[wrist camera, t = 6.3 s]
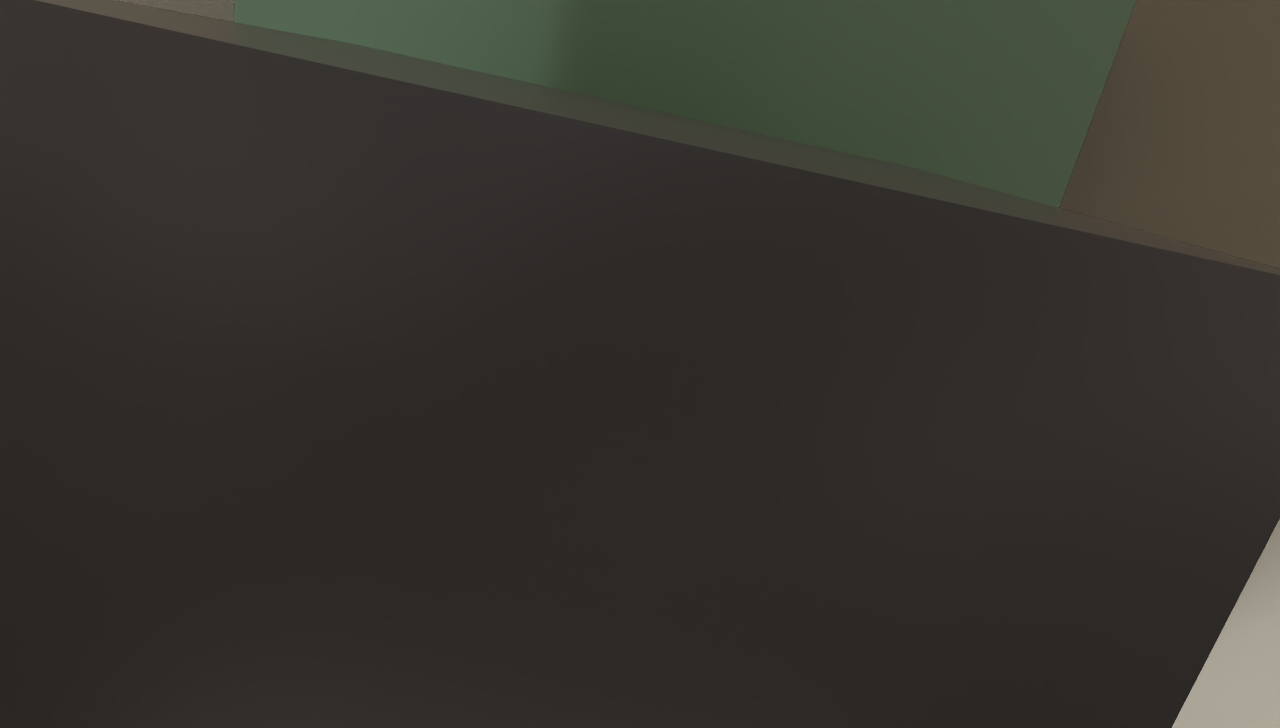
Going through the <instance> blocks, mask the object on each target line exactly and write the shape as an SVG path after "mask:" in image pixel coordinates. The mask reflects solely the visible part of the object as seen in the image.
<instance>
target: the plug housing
mask: <svg viewBox="0 0 1280 728" xmlns="http://www.w3.org/2000/svg"><path fill="white" fill-rule="evenodd" d="M1279 519H1280V269H1278V268H1275V267H1271V266H1267V265H1264V264H1260V263H1257V262H1253V261H1249V260H1246V259H1242V258H1238V257H1235V256H1231V255H1228V254H1224V253H1220V252H1217V251H1213V250H1209V249H1206V248H1202V247H1199V246H1195V245H1191V244H1188V243H1184V242H1180V241H1177V240H1173V239H1170V238H1166V237H1162V236H1159V235H1155V234H1152V233H1148V232H1144V231H1141V230H1137V229H1133V228H1130V227H1126V226H1123V225H1119V224H1115V223H1112V222H1108V221H1104V220H1101V219H1097V218H1094V217H1090V216H1086V215H1083V214H1079V213H1076V212H1072V211H1068V210H1065V209H1061V208H1057V207H1054V206H1050V205H1047V204H1043V203H1039V202H1036V201H1032V200H1028V199H1025V198H1021V197H1018V196H1014V195H1010V194H1007V193H1003V192H999V191H996V190H992V189H989V188H985V187H981V186H978V185H974V184H971V183H967V182H963V181H960V180H956V179H952V178H949V177H945V176H942V175H938V174H934V173H931V172H927V171H923V170H920V169H916V168H912V167H907V166H903V165H898V164H894V163H889V162H885V161H880V160H876V159H871V158H867V157H862V156H858V155H853V154H849V153H844V152H839V151H835V150H830V149H826V148H821V147H817V146H812V145H808V144H803V143H799V142H794V141H790V140H785V139H781V138H776V137H772V136H767V135H763V134H758V133H754V132H749V131H745V130H740V129H736V128H731V127H727V126H722V125H718V124H713V123H709V122H704V121H700V120H695V119H691V118H686V117H682V116H677V115H672V114H668V113H663V112H659V111H654V110H650V109H645V108H641V107H636V106H632V105H627V104H623V103H618V102H614V101H609V100H605V99H600V98H596V97H591V96H587V95H582V94H578V93H573V92H569V91H564V90H560V89H555V88H551V87H546V86H542V85H537V84H533V83H528V82H524V81H519V80H514V79H510V78H505V77H501V76H496V75H492V74H487V73H483V72H478V71H474V70H469V69H465V68H460V67H456V66H451V65H447V64H442V63H438V62H433V61H429V60H424V59H420V58H415V57H411V56H406V55H402V54H397V53H393V52H388V51H384V50H379V49H375V48H370V47H366V46H361V45H356V44H351V43H346V42H340V41H335V40H329V39H324V38H318V37H313V36H307V35H302V34H296V33H291V32H285V31H280V30H274V29H269V28H263V27H258V26H252V25H247V24H241V23H236V22H230V21H225V20H219V19H214V18H209V17H203V16H198V15H192V14H187V13H181V12H176V11H170V10H165V9H159V8H154V7H148V6H143V5H137V4H132V3H126V2H121V1H115V0H0V728H1172V726H1173V724H1174V722H1175V720H1176V718H1177V716H1178V714H1179V712H1180V710H1181V708H1182V706H1183V704H1184V702H1185V701H1186V699H1187V697H1188V695H1189V693H1190V691H1191V689H1192V687H1193V685H1194V683H1195V681H1196V679H1197V677H1198V675H1199V673H1200V671H1201V670H1202V668H1203V666H1204V664H1205V662H1206V660H1207V658H1208V656H1209V654H1210V652H1211V650H1212V648H1213V646H1214V644H1215V642H1216V641H1217V639H1218V637H1219V635H1220V633H1221V631H1222V629H1223V627H1224V625H1225V623H1226V621H1227V619H1228V617H1229V615H1230V613H1231V611H1232V610H1233V608H1234V606H1235V604H1236V602H1237V600H1238V598H1239V596H1240V594H1241V592H1242V590H1243V588H1244V586H1245V584H1246V582H1247V581H1248V579H1249V577H1250V575H1251V573H1252V571H1253V569H1254V567H1255V565H1256V563H1257V561H1258V559H1259V557H1260V555H1261V553H1262V551H1263V550H1264V548H1265V546H1266V544H1267V542H1268V540H1269V538H1270V536H1271V534H1272V532H1273V530H1274V528H1275V526H1276V524H1277V522H1278V521H1279Z"/></svg>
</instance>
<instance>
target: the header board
mask: <svg viewBox="0 0 1280 728" xmlns="http://www.w3.org/2000/svg"><path fill="white" fill-rule="evenodd" d="M1135 3H1136V0H235V2H234V22H236V23H241V24H247V25H252V26H258V27H263V28H269V29H274V30H280V31H285V32H291V33H296V34H302V35H307V36H313V37H318V38H324V39H329V40H335V41H340V42H346V43H351V44H356V45H361V46H366V47H370V48H375V49H379V50H384V51H388V52H393V53H397V54H402V55H406V56H411V57H415V58H420V59H424V60H429V61H433V62H438V63H442V64H447V65H451V66H456V67H460V68H465V69H469V70H474V71H478V72H483V73H487V74H492V75H496V76H501V77H505V78H510V79H514V80H519V81H524V82H528V83H533V84H537V85H542V86H546V87H551V88H555V89H560V90H564V91H569V92H573V93H578V94H582V95H587V96H591V97H596V98H600V99H605V100H609V101H614V102H618V103H623V104H627V105H632V106H636V107H641V108H645V109H650V110H654V111H659V112H663V113H668V114H672V115H677V116H682V117H686V118H691V119H695V120H700V121H704V122H709V123H713V124H718V125H722V126H727V127H731V128H736V129H740V130H745V131H749V132H754V133H758V134H763V135H767V136H772V137H776V138H781V139H785V140H790V141H794V142H799V143H803V144H808V145H812V146H817V147H821V148H826V149H830V150H835V151H839V152H844V153H849V154H853V155H858V156H862V157H867V158H871V159H876V160H880V161H885V162H889V163H894V164H898V165H903V166H907V167H912V168H916V169H920V170H923V171H927V172H931V173H934V174H938V175H942V176H945V177H949V178H952V179H956V180H960V181H963V182H967V183H971V184H974V185H978V186H981V187H985V188H989V189H992V190H996V191H999V192H1003V193H1007V194H1010V195H1014V196H1018V197H1021V198H1025V199H1028V200H1032V201H1036V202H1039V203H1043V204H1047V205H1050V206H1054V207H1057V208H1059V207H1060V204H1061V201H1062V199H1063V196H1064V193H1065V191H1066V188H1067V185H1068V182H1069V180H1070V177H1071V174H1072V172H1073V169H1074V166H1075V164H1076V161H1077V158H1078V156H1079V153H1080V150H1081V148H1082V145H1083V142H1084V140H1085V137H1086V134H1087V131H1088V129H1089V126H1090V123H1091V121H1092V118H1093V115H1094V113H1095V110H1096V107H1097V105H1098V102H1099V99H1100V97H1101V94H1102V91H1103V89H1104V86H1105V83H1106V80H1107V78H1108V75H1109V72H1110V70H1111V67H1112V64H1113V62H1114V59H1115V56H1116V54H1117V51H1118V48H1119V46H1120V43H1121V40H1122V37H1123V35H1124V32H1125V29H1126V27H1127V24H1128V21H1129V19H1130V16H1131V13H1132V11H1133V8H1134V5H1135Z"/></svg>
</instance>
